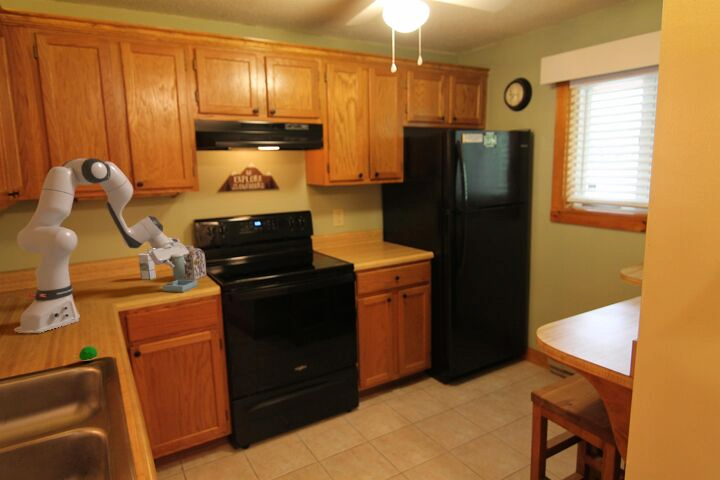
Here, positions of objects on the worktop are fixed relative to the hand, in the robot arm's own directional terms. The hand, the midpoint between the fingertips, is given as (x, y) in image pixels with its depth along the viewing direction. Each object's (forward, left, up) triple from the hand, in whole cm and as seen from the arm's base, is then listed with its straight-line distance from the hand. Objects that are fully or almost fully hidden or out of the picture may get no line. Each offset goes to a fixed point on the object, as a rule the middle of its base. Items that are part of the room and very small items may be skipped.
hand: (179, 265), depth 225 cm
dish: (0, +1, -12) cm, 12 cm away
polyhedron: (-80, -27, -12) cm, 85 cm away
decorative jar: (+21, +10, -12) cm, 26 cm away
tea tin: (0, +1, -6) cm, 6 cm away
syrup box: (+15, +34, -12) cm, 39 cm away
